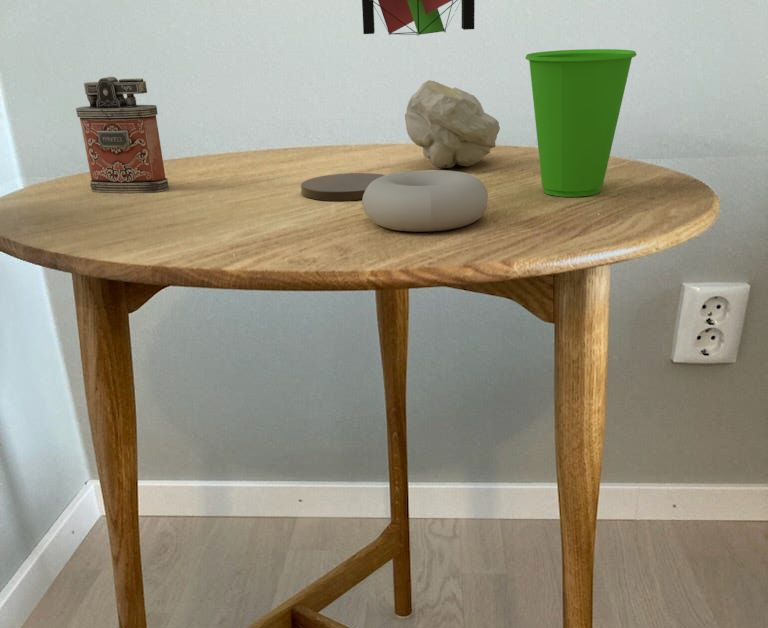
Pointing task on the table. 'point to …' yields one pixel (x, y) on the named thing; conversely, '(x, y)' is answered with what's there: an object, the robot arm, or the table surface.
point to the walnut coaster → (338, 186)
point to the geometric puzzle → (413, 15)
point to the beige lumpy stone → (450, 125)
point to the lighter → (121, 138)
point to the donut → (425, 200)
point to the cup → (577, 115)
